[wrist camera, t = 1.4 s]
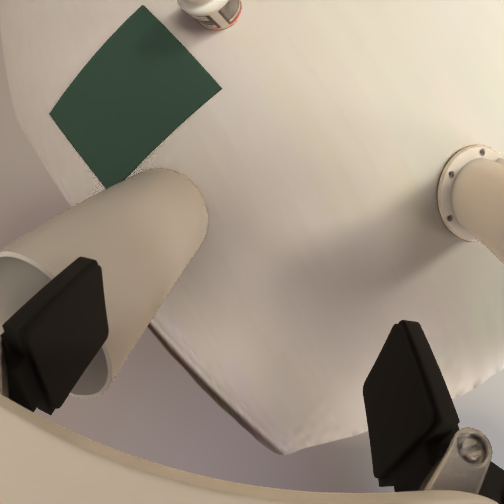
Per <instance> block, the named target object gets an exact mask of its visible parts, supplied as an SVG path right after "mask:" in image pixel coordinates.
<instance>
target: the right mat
mask: <svg viewBox="0 0 504 504" xmlns="http://www.w3.org/2000/svg"><path fill="white" fill-rule="evenodd" d="M221 89H222V88H221V87H220V86H219V85H218V83H217V82H216V81H215V80H214V79H213V78H212V77H211V76H210V74H209V73H208V72H207V71H206V70H205V69H204V68H203V67H202V66H201V64H200V63H199V62H198V61H197V60H196V59H195V58H194V57H193V56H192V55H191V54H190V53H189V51H188V50H187V49H186V48H185V47H184V46H183V45H182V44H181V43H180V42H179V41H178V40H177V39H176V38H175V37H174V36H173V35H172V34H171V33H170V31H169V30H168V29H167V28H166V27H165V26H164V25H163V24H162V23H161V22H160V21H159V20H158V19H157V18H156V17H155V16H154V15H153V14H152V13H151V12H150V11H149V10H148V9H147V8H146V7H145V6H143V5H142V6H141V7H140V8H139V9H138V10H137V11H136V12H135V13H133V14H132V15H131V16H130V17H129V18H128V19H127V20H126V21H125V22H124V23H123V24H122V25H121V26H120V27H119V28H118V30H117V31H116V32H115V33H114V34H113V35H112V36H111V37H110V38H109V39H108V40H107V41H106V42H105V43H104V45H103V46H102V47H101V48H100V49H99V50H98V51H97V52H96V54H95V55H94V56H93V57H92V58H91V59H90V61H89V62H88V63H87V64H86V65H85V67H84V68H83V69H82V70H81V72H80V73H79V74H78V75H77V77H76V78H75V79H74V80H73V82H72V83H71V84H70V86H69V87H68V88H67V90H66V91H65V92H64V94H63V95H62V96H61V98H60V99H59V101H58V102H57V103H56V105H55V106H54V108H53V109H52V111H51V112H50V116H51V117H52V118H53V120H54V121H55V122H56V124H57V125H58V127H59V128H60V129H61V131H62V132H63V133H64V135H65V136H66V137H67V139H68V140H69V141H70V143H71V144H72V145H73V147H74V148H75V149H76V151H77V152H78V153H79V155H80V156H81V157H82V158H83V160H84V161H85V162H86V164H87V165H88V166H89V167H90V169H91V170H92V171H93V173H94V174H95V175H96V176H97V178H98V179H99V180H100V181H101V183H102V184H103V185H104V186H105V188H106V189H107V188H109V187H111V186H113V185H115V184H117V183H119V182H122V181H124V180H125V179H126V178H127V177H128V176H129V175H130V173H131V172H132V171H133V170H134V169H135V168H136V167H137V166H138V165H139V164H140V163H141V162H142V161H143V160H144V159H145V158H146V157H147V156H148V155H149V154H150V153H151V152H152V151H153V150H154V149H155V148H156V147H157V146H158V145H159V144H160V143H161V142H162V141H163V140H165V139H166V138H167V137H168V136H169V135H170V134H171V133H172V132H173V131H174V130H175V129H176V128H177V127H178V126H180V125H181V124H182V123H183V122H184V121H185V120H186V119H187V118H188V117H189V116H191V115H192V114H193V113H194V112H195V111H196V110H197V109H199V108H200V107H201V106H202V105H203V104H204V103H206V102H207V101H208V100H209V99H210V98H211V97H213V96H214V95H215V94H216V93H217V92H219V91H220V90H221Z"/></svg>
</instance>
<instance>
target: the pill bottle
mask: <svg viewBox="0 0 504 504" xmlns="http://www.w3.org/2000/svg"><path fill="white" fill-rule="evenodd" d="M177 2H178V4H179V6H180V7H181V8H182V9H183V11H185V12H186V13H187V14H189V15H190V16H191V17H193V18H194V19H195V20H197V21H198V22H199V23H200V24H202V25H203V26H205V27H207V28H209V29H214V30H219V29H225V28H227V27H229V26H231V25H233V24H234V23H235V22H236V21H237V20H238V19H239V17H240V15H241V13H242V3H241V1H240V0H177Z"/></svg>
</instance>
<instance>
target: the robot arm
mask: <svg viewBox="0 0 504 504" xmlns="http://www.w3.org/2000/svg"><path fill="white" fill-rule="evenodd" d="M449 172H450V174H449V175H448V173H449ZM438 207H439V211H440V214H441V217H442V219H443V221H444V223H445V224H446V226H447V227H448V228H449V229H450V230H451V232H452V233H454V234H455V235H456V236H457V237H459V238H461V239H463V240H466V241H471V242H479V241H480V242H481V243H483V244H484V245H485V246H486V247H487V248H488V249H489V250H490V251H491V252H492V253H493V254H494V255H496V256H497V257H498V258H499V259H500V260H501V261H502V262H503V263H504V156H503V155H502V154H500V153H499V152H498V151H497V150H495V149H493V148H491V147H487V146H483V145H473V146H468V147H466V148H463V149H461V150H460V151H459V152H457V153H456V154H455V155H454V156H453V157H452V158H451V159H450V160H449V162H448V163H447V165H446V166H445V168H444V170H443V172H442V175H441V178H440V182H439V185H438ZM447 217H448V218H447ZM2 327H3V330H4V332H3V333H2V334H0V504H504V470H503V469H501V468H499V467H498V466H497V465H495V464H494V463H492V462H491V458H492V447H491V444H490V442H489V440H488V439H487V437H486V436H485V435H484V434H483V433H482V432H480V431H479V430H476V429H474V428H469V427H468V428H462V429H461V430H459V427H458V423H459V418H458V415H457V413H456V410H455V407H454V404H453V402H452V399H451V396H450V394H449V391H448V389H447V386H446V384H445V381H444V379H443V376H442V374H441V371H440V369H439V366H438V364H437V362H436V359H435V357H434V355H433V352H432V350H431V348H430V345H429V343H428V341H427V339H426V337H425V334H424V332H423V330H422V328H421V326H420V324H419V323H418V322H413V321H406V320H401V321H400V322H399V323H398V324H395V325H394V326H393V327H392V329H391V331H390V334H389V336H388V338H387V340H386V342H385V344H384V346H383V348H382V350H381V352H380V354H379V356H378V358H377V360H376V362H375V364H374V366H373V367H372V369H371V371H370V373H369V375H368V377H367V379H366V380H365V383H364V386H363V396H364V403H365V409H366V416H367V423H368V430H369V438H370V446H371V454H372V463H373V473H374V476H375V477H376V478H378V480H379V486H380V487H384V486H394V490H395V492H389V493H325V492H307V491H294V490H285V489H276V488H268V487H261V486H254V485H248V484H242V483H236V482H230V481H225V480H220V479H215V478H210V477H206V476H202V475H197V474H193V473H189V472H185V471H181V470H178V469H174V468H170V467H167V466H163V465H160V464H157V463H153V462H150V461H147V460H144V459H141V458H138V457H135V456H132V455H129V454H127V453H124V452H121V451H118V450H115V449H113V448H110V447H108V446H105V445H103V444H100V443H98V442H95V441H93V440H90V439H88V438H86V437H83V436H81V435H79V434H77V433H74V432H72V431H70V430H68V429H66V428H63V427H62V426H59V425H57V424H55V423H53V422H51V421H49V420H47V419H45V418H43V417H41V416H39V415H37V414H36V413H34V411H35V409H36V408H37V407H38V409H40V410H42V411H44V412H46V413H48V414H49V415H52V413H53V411H54V410H55V408H60V407H61V406H62V404H63V403H64V401H65V400H66V398H67V397H68V395H69V394H70V392H71V391H72V389H73V388H74V386H75V385H76V383H77V382H78V380H79V379H80V377H81V376H82V374H83V373H84V371H85V370H86V368H87V367H88V366H89V364H90V363H91V361H92V360H93V358H94V357H95V356H96V354H97V353H98V351H99V350H100V348H101V347H102V346H103V344H104V343H105V341H106V340H107V338H108V334H109V327H108V320H107V313H106V305H105V296H104V287H103V276H102V268H101V266H100V265H98V262H97V261H96V260H94V259H90V258H86V257H78V258H77V259H76V260H75V261H73V262H72V263H71V264H70V265H69V266H67V267H66V268H65V269H64V270H63V271H62V272H60V273H59V274H58V275H57V276H56V277H54V278H53V279H52V280H51V281H50V282H49V283H48V284H46V285H45V286H44V287H43V288H42V289H41V290H40V291H38V292H37V293H36V294H35V295H34V296H33V297H32V298H31V299H30V300H29V301H27V302H26V303H25V304H24V305H23V306H22V307H21V308H20V309H19V310H18V311H17V312H16V313H14V314H13V315H12V316H11V317H10V318H9V319H8V320H7V321H6V322H5V323H4V324H3V325H2Z"/></svg>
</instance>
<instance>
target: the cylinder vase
mask: <svg viewBox="0 0 504 504" xmlns="http://www.w3.org/2000/svg"><path fill="white" fill-rule="evenodd" d="M207 229H208V212H207V207H206V204H205V201H204V199H203V197H202V195H201V193H200V192H199V190H198V189H197V188H196V186H195V185H194V184H193V183H192V182H191V181H190V180H188V179H187V178H186V177H184V176H183V175H181V174H179V173H177V172H175V171H172V170H168V169H160V168H157V169H149V170H146V171H143V172H140V173H138V174H136V175H134V176H132V177H130V178H128V179H126V180H124V181H122V182H119V183H117V184H115V185H113V186H111V187H109V188H107V189H105V190H103V191H101V192H99V193H97V194H96V195H94V196H92V197H90V198H88V199H86V200H84V201H82V202H80V203H78V204H77V205H75V206H73V207H71V208H69V209H67V210H66V211H64V212H62V213H60V214H58V215H57V216H55V217H53V218H51V219H50V220H48V221H47V222H45V223H43V224H41V225H40V226H38V227H36V228H34V229H33V230H31V231H29V232H28V233H26V234H25V235H23V236H21V237H20V238H18V239H17V240H15V241H13V242H12V243H10V244H9V245H7V246H6V247H4V248H3V249H1V250H0V334H2V333H3V332H4V330H3V327H2V325H3V324H4V323H5V322H6V321H7V320H8V319H9V318H10V317H11V316H12V315H13V314H14V313H16V312H17V311H18V310H19V309H20V308H21V307H22V306H23V305H24V304H25V303H26V302H27V301H29V300H30V299H31V298H32V297H33V296H34V295H35V294H36V293H37V292H38V291H40V290H41V289H42V288H43V287H44V286H45V285H46V284H48V283H49V282H50V281H51V280H52V279H53V278H54V277H56V276H57V275H58V274H59V273H60V272H62V271H63V270H64V269H65V268H66V267H67V266H69V265H70V264H71V263H72V262H73V261H75V260H76V259H77V258H78V257H86V258H90V259H94V260H96V261H97V262H98V265H100V266H101V268H102V276H103V287H104V296H105V305H106V313H107V320H108V327H109V334H108V338H107V340H106V341H105V343H104V344H103V346H102V347H101V348H100V350H99V351H98V353H97V354H96V356H95V357H94V358H93V360H92V361H91V363H90V364H89V366H88V367H87V368H86V370H85V371H84V373H83V374H82V376H81V377H80V379H79V380H78V382H77V383H76V385H75V386H74V388H73V389H72V391H71V392H70V394H69V395H71V396H74V397H78V398H95V397H98V396H101V395H102V394H104V393H105V392H106V391H107V390H108V389H109V387H110V385H111V384H112V382H113V380H114V379H115V377H116V375H117V374H118V372H119V370H120V369H121V367H122V365H123V364H124V362H125V361H126V359H127V357H128V356H129V354H130V353H131V351H132V349H133V348H134V346H135V345H136V343H137V341H138V340H139V338H140V337H141V335H142V333H143V332H144V330H145V329H146V327H147V326H148V324H149V323H150V321H151V320H152V318H153V316H154V315H155V313H156V312H157V310H158V309H159V307H160V306H161V304H162V303H163V301H164V299H165V298H166V296H167V295H168V293H169V292H170V290H171V289H172V287H173V286H174V284H175V283H176V281H177V280H178V278H179V277H180V275H181V274H182V272H183V271H184V269H185V268H186V266H187V265H188V263H189V262H190V260H191V259H192V258H193V256H194V255H195V253H196V252H197V250H198V249H199V247H200V246H201V244H202V243H203V241H204V239H205V236H206V233H207Z"/></svg>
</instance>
